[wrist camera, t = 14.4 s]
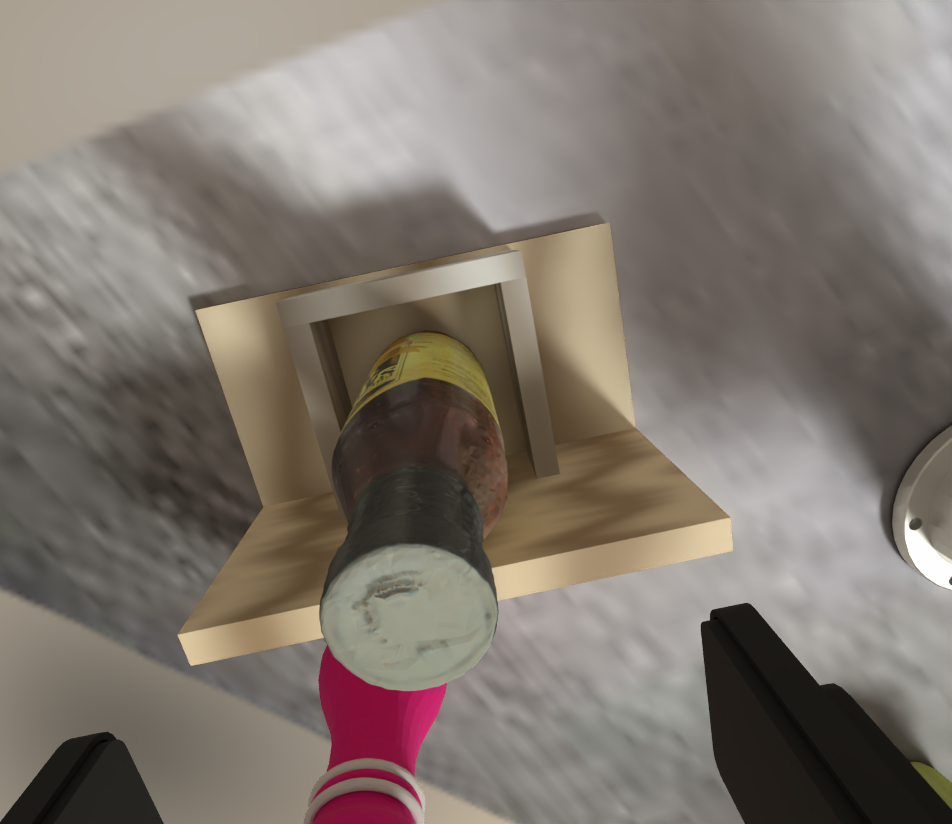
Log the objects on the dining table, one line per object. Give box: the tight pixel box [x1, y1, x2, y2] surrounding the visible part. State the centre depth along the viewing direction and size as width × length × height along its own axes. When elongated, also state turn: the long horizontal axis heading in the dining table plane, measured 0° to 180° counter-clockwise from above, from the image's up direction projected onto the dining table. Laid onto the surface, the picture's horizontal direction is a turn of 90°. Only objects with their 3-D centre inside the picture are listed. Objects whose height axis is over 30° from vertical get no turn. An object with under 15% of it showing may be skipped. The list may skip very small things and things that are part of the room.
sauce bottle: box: [319, 330, 508, 691], centre depth 22 cm, size 7×6×20 cm
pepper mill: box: [304, 645, 447, 824], centre depth 27 cm, size 7×7×20 cm
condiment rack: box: [178, 222, 733, 666], centre depth 26 cm, size 22×13×12 cm, turn 101°
